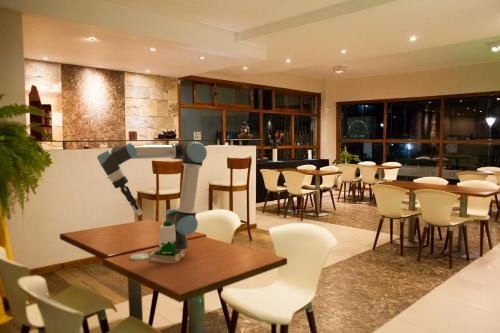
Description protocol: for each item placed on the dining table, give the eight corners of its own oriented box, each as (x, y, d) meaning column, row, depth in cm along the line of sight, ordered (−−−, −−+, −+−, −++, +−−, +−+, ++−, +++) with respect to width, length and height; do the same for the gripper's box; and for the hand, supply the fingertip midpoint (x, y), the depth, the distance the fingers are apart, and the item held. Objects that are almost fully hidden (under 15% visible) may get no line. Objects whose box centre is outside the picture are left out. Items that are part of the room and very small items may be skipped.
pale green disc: (135, 253, 219) (135, 252, 219) (153, 255, 217) (153, 254, 217) (126, 259, 208) (126, 258, 208) (145, 261, 206) (145, 260, 206)
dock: (160, 253, 220) (160, 247, 220) (184, 255, 218) (184, 249, 217) (149, 261, 206) (149, 254, 206) (174, 263, 203) (175, 256, 203)
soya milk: (175, 255, 217) (175, 220, 216) (175, 260, 208) (175, 224, 207) (159, 256, 215) (159, 221, 214) (158, 261, 206) (159, 224, 205)
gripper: (109, 181, 212) (129, 213, 217) (113, 184, 189) (135, 220, 194) (122, 174, 214) (141, 206, 219) (127, 176, 192) (148, 212, 196)
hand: (138, 212), depth 206 cm, fingers open, 13 cm apart
